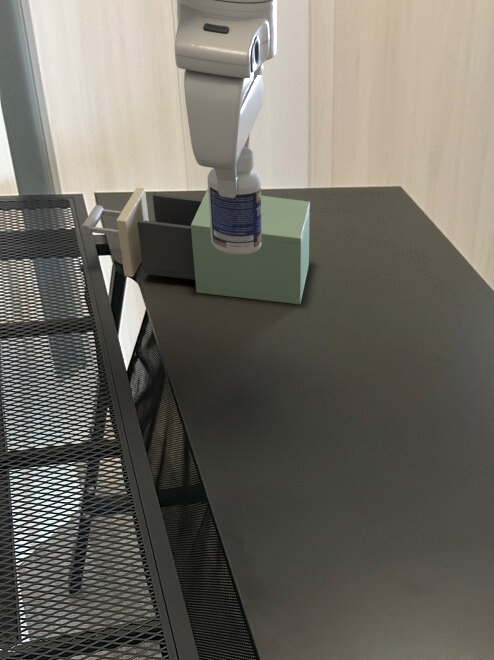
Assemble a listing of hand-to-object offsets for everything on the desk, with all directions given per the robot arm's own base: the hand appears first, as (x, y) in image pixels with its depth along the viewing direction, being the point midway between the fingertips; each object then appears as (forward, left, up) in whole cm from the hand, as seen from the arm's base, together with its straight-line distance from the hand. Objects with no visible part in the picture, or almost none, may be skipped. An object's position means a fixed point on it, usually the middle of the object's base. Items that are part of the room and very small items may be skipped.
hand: (233, 182), depth 89 cm
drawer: (-16, +29, -24) cm, 41 cm away
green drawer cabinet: (-3, +29, -25) cm, 38 cm away
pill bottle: (0, 0, -7) cm, 7 cm away
